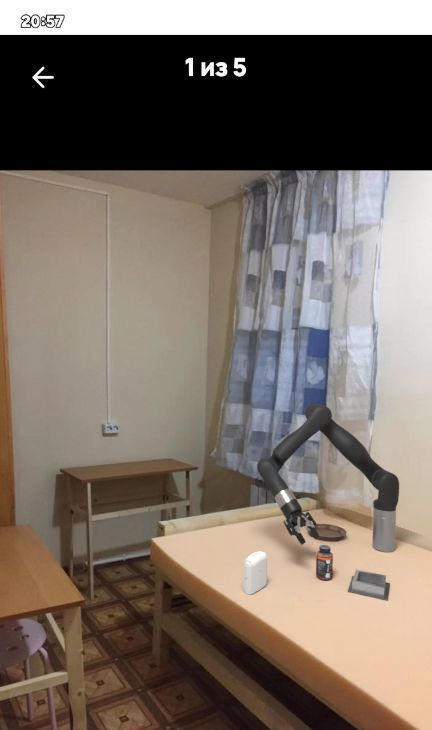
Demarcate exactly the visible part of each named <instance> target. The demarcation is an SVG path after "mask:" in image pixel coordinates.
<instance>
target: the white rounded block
mask: <svg viewBox="0 0 432 730" xmlns="http://www.w3.org/2000/svg"><path fill="white" fill-rule="evenodd" d="M242 577H243V578H242V579H243V580H242V581H243V582H242V584H243V585H242V590H243V592H244V593H245V594H246V595H254V594H255V593H257V592H259V591H260V590H261V589H263V588H265V586H267V583H268V580H267V579H268V556H267V553H266V552H264V551H255V552H252V553H251V554H249V556H247V557H246V559H245V560H244V561H243V576H242Z"/></svg>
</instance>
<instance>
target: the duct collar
mask: <svg viewBox="0 0 432 730" xmlns="http://www.w3.org/2000/svg"><path fill="white" fill-rule="evenodd" d="M390 588H391V582H388V581H387V575H385V574H381V573H376V572H371V571H365V570H360V569H355V572H354V574H353V575H352V576H351V579H350V582H349V585H348V588H347V592H348V593H350V594H355V595H359V596H365V597H369V598H373V599H378V600H382V601H386V602H388V601H389V593H390Z"/></svg>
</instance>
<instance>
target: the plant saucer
mask: <svg viewBox="0 0 432 730" xmlns="http://www.w3.org/2000/svg"><path fill="white" fill-rule="evenodd" d="M316 524H317V525H316V526H315V529H316V531H317V533H318V534H319V538H318V539H317V540H319V541H322V542H323V541H324V542H339V541H341V540H343V539H344V537H346V535H347V530H346V529H344V528H343V527H341V526H338V525H335V524H328V523H316ZM308 526H309V527H310V525H308ZM306 530H307V532H308V534H309V535H310V536H311V537H312V538H314V537H313V536H312V534H311V532H310V530H309V529H307V528H306Z"/></svg>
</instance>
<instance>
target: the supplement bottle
mask: <svg viewBox="0 0 432 730" xmlns="http://www.w3.org/2000/svg"><path fill="white" fill-rule="evenodd" d="M318 547H319V549H318V551H317V552H316V555H315V556H316V560H315V562H316V563H315V577H316V578H317V579H319V580H322V581H329V580H331V579H333V568H334V567H333V563H334V554H333V553H332V552H331V546H329V545H327V544H320V545H319V546H318Z"/></svg>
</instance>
